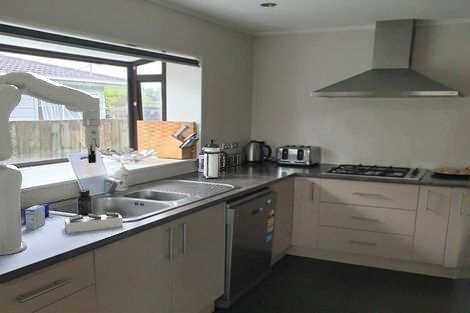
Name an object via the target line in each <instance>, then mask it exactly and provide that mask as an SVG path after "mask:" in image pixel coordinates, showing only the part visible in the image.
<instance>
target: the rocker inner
mask: <svg viewBox="0 0 470 313" xmlns="http://www.w3.org/2000/svg"><path fill="white" fill-rule="evenodd" d="M83 217H84V216H82V215H75V216H72V217H71V216H70V217H69V218H68V219H69V220H70V222H73V221H77V220H81V219H83Z"/></svg>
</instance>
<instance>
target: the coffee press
mask: <svg viewBox="0 0 470 313" xmlns="http://www.w3.org/2000/svg"><path fill="white" fill-rule="evenodd" d="M214 141H215V140H214V139H211V140H210V142H206V143H204V145H203V147H202V149H201V150H202V151H203V175H202V177H203V178H205V180H209V178H217V179H218V180H220V179H221V177H220V173H222V172H225V171H226V170H227V169H228V162H229V155H228V153H227V151H224V150H221V145H220V144H219V143H218V142H214ZM221 154H223V155H224V157H225V160H224V161H225V162H224V164H225V165H224V168H222V169H220V168H221V167H220V166H221V164H220V160H221V159H220V158H221V156H220V155H221Z"/></svg>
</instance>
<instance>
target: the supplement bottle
mask: <svg viewBox="0 0 470 313" xmlns="http://www.w3.org/2000/svg"><path fill="white" fill-rule="evenodd" d="M90 191H91V190H90V189H85V188H84V189H79V191H78V192H79V193H78V194H79V195H78V196H77V197H76V206H77V208H76V209H77V212H76V213H77V216H79V215H82V216H83V217H87V216H88V213H89V214H93V196H92V195H91V192H90Z"/></svg>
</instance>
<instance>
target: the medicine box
mask: <svg viewBox="0 0 470 313" xmlns="http://www.w3.org/2000/svg"><path fill="white" fill-rule="evenodd" d="M41 205H42V204H41ZM41 205H33V206H31V207H29V208H25V209H26V223H25V229H26V230H37V229H39V228H40V227H41V226H44V225H45V224H46V219H45V206H41Z"/></svg>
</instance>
